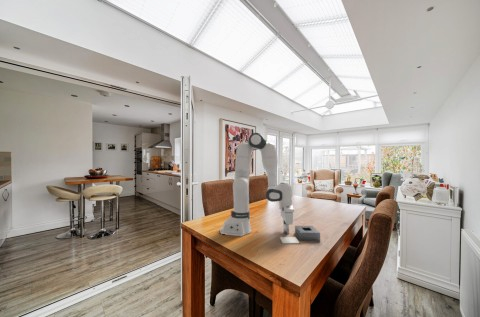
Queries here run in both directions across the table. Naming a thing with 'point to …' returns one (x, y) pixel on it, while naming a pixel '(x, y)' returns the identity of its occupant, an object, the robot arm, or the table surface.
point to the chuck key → (286, 230)
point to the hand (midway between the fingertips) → (286, 226)
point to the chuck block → (307, 233)
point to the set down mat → (289, 240)
